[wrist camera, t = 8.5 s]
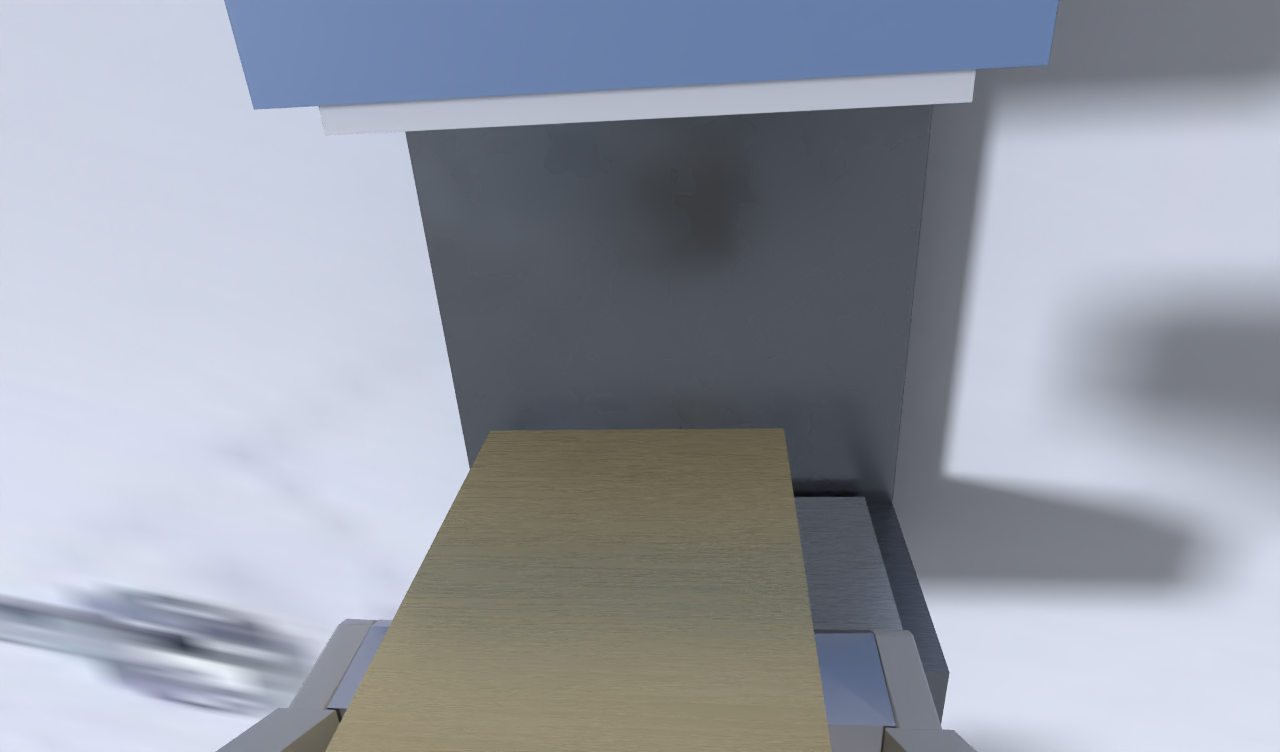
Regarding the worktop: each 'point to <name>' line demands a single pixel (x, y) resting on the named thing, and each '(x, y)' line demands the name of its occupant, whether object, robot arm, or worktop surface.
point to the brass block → (605, 605)
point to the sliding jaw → (620, 57)
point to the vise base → (701, 305)
